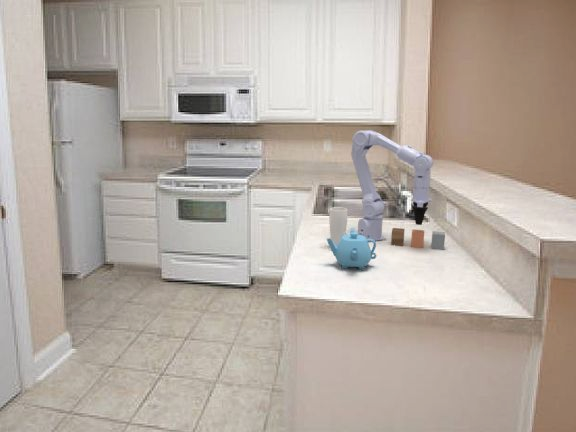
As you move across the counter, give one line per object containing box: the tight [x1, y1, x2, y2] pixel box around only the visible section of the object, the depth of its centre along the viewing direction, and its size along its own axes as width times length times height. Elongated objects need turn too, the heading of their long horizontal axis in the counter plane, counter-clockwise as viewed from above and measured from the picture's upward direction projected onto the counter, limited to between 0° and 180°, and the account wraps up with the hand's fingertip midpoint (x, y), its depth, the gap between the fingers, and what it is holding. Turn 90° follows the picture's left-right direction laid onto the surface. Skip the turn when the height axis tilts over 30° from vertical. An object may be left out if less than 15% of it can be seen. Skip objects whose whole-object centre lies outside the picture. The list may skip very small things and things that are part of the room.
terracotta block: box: [410, 229, 425, 249], centre depth 169 cm, size 4×4×6 cm
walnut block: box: [390, 227, 405, 247], centre depth 171 cm, size 4×4×6 cm
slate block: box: [430, 230, 446, 251], centre depth 167 cm, size 4×4×6 cm
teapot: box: [326, 226, 377, 271], centre depth 145 cm, size 15×14×11 cm
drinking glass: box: [328, 206, 349, 246], centre depth 165 cm, size 7×7×15 cm
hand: (418, 222), depth 168 cm, fingers open, 7 cm apart
